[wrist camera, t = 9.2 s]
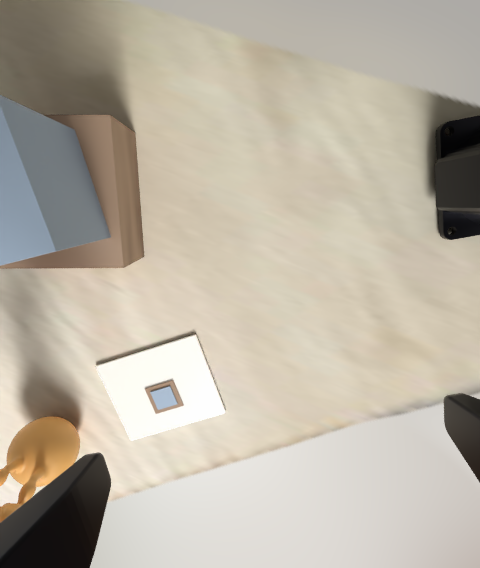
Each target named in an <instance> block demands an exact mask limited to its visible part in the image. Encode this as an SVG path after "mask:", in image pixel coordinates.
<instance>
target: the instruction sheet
mask: <svg viewBox="0 0 480 568" xmlns="http://www.w3.org/2000/svg"><path fill="white" fill-rule="evenodd" d="M95 367H96V369H97V372H98V374H99V376H100V378H101V380H102V382H103V384H104V386H105V388H106V390H107V392H108V395H109V397H110V399H111V401H112V403H113V405H114V407H115V409H116V411H117V413H118V415H119V418H120V420H121V422H122V424H123V426H124V428H125V430H126V432H127V434H128V436H129V438H130V441H133V440H136V439H140V438H143V437H147V436H150V435H153V434H157V433H160V432H163V431H167V430H170V429H174V428H177V427H180V426H184V425H187V424H190V423H194V422H197V421H201V420H204V419H207V418H211V417H214V416H217V415H221V414H224V413H226V410H225V408H224V405H223V402H222V400H221V397H220V395H219V392H218V389H217V387H216V384H215V382H214V379H213V377H212V374H211V371H210V369H209V366H208V364H207V361H206V358H205V356H204V353H203V351H202V348H201V346H200V343H199V340H198V338H197V335H196V334H194V335H191V336H188V337H185V338H181V339H178V340H175V341H172V342H169V343H166V344H162V345H159V346H156V347H153V348H150V349H147V350H143V351H140V352H137V353H134V354H131V355H128V356H124V357H121V358H118V359H115V360H112V361H109V362H105V363H102V364H99V365H96V366H95Z"/></svg>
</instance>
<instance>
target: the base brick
mask: <svg viewBox="0 0 480 568" xmlns="http://www.w3.org/2000/svg"><path fill="white" fill-rule="evenodd" d="M44 116H46V117H48V118H51V119H53V120H55V121H57V122H59V123H61V124H63V125H65V126H68V127H70V128H72V129H74V130H75V132H76V135H77V138H78V141H79V144H80V147H81V150H82V153H83V156H84V159H85V162H86V164H87V167H88V170H89V173H90V176H91V179H92V182H93V185H94V188H95V191H96V194H97V197H98V200H99V203H100V206H101V209H102V212H103V214H104V217H105V220H106V223H107V226H108V229H109V232H110V235H111V237H110V238H106V239H102V240H99V241H95V242H91V243H87V244H83V245H79V246H75V247H71V248H67V249H63V250H60V251H56V252H52V253H48V254H44V255H40V256H36V257H32V258H28V259H24V260H20V261H17V262H13V263H9V264H5V265H1V266H0V268H124V267H126V266H128V265H130V264H132V263H133V262H135V261H137V260H139V259H141V258H142V257H144V247H143V233H142V219H141V206H140V192H139V178H138V165H137V151H136V137H135V132H133V131H132V130H131V129H129V128H128V127H126V126H125V125H124V124H122V123H121V122H119V121H118V120H117V119H115V118H114V117H112V116H111V115H44Z"/></svg>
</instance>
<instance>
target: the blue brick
mask: <svg viewBox="0 0 480 568" xmlns="http://www.w3.org/2000/svg"><path fill="white" fill-rule="evenodd" d="M110 237H111V235H110V232H109V229H108V226H107V223H106V220H105V217H104V214H103V212H102V209H101V206H100V203H99V200H98V197H97V194H96V191H95V188H94V185H93V182H92V179H91V176H90V173H89V170H88V167H87V164H86V162H85V159H84V156H83V153H82V150H81V147H80V144H79V141H78V138H77V135H76V132H75V130H74V129H72V128H70V127H68V126H65V125H63V124H61V123H59V122H57V121H55V120H53V119H51V118H48V117H46V116H44V115H42V114H40V113H38V112H36V111H34V110H31V109H29V108H27V107H25V106H23V105H21V104H19V103H16V102H14V101H12V100H10V99H8V98H6V97H4V96H2V95H0V266H1V265H5V264H9V263H13V262H17V261H20V260H24V259H28V258H32V257H36V256H40V255H44V254H48V253H52V252H56V251H60V250H63V249H67V248H71V247H75V246H79V245H83V244H87V243H91V242H95V241H99V240H102V239H106V238H110Z"/></svg>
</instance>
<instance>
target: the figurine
mask: <svg viewBox="0 0 480 568" xmlns="http://www.w3.org/2000/svg"><path fill="white" fill-rule="evenodd" d="M79 448H80V439H79V435H78V432H77V430H76V428H75V427H74V426H73V425H72V424H71V423H70V422H69V421H67V420H66V419H63V418H60V417H53V416H51V417H43V418H39V419H37V420H34V421H32V422H30V423H29V424H27V425H26V426H25V427H23V428H22V429H21V430H20V431H19V432H18V433H17V434H16V436H15V437H14V439H13V440H12V442H11V444H10V446H9V449H8V453H7V465H6V466H5V467H4V468H3V469H1V470H0V486H1V485H2V484H3V483H4V482H5V481H6V479H7V476H8V474H9V473H10V474H11V476H12V477H13V478H14V479H15V480H16V481H17V482H19V483H20V484H22V485H24V486H23V487H22V488H21V490H20V493H19V497H18V503H17V504H11V503H6V504H4V505H3V506H2V507H0V523H1V522H2V521H3V520H4V519H6V518H7V517H8V516H9V515H11V514H12V513H13V512H14V511H15V510H17V509H18V508H19V507H20V506H22V505H23V504H24V503H25V502H27V501H28V500H29V499H30V498H31V497H32V496H33V495H34V493H35V490H36V487H40V486H45V485H48V484H49V483H50V482H52V481H53V480H54V479H55V478H57V477H58V476H59V475H60V474H62V473H63V472H64V471H65V470H67V469H68V468H69V467H70V466H72V465H73V464H74V462H75V461H76V458H77V456H78V453H79Z"/></svg>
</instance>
